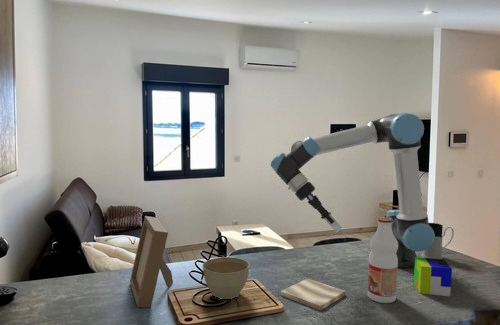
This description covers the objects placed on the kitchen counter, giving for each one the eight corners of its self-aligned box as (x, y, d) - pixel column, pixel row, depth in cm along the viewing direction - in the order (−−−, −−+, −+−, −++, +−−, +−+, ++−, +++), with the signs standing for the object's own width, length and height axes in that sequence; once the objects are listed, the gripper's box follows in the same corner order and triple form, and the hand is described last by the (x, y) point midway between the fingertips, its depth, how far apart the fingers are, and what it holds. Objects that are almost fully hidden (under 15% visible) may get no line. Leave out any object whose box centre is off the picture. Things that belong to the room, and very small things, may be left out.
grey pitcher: (417, 253, 180) (419, 222, 179) (445, 253, 182) (447, 222, 180) (428, 260, 171) (430, 227, 170) (457, 259, 173) (459, 226, 172)
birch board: (307, 282, 145) (307, 278, 145) (345, 295, 134) (345, 290, 134) (280, 295, 133) (280, 291, 133) (320, 310, 122) (320, 306, 122)
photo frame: (137, 309, 121) (136, 232, 119) (129, 283, 141) (128, 217, 139) (183, 301, 127) (183, 228, 125) (170, 278, 147) (169, 214, 145)
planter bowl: (255, 289, 138) (255, 259, 137) (239, 308, 123) (239, 275, 122) (214, 282, 143) (214, 254, 142) (194, 300, 128) (194, 269, 127)
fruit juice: (394, 306, 126) (398, 222, 124) (365, 300, 130) (368, 219, 128) (397, 295, 135) (401, 216, 132) (369, 289, 139) (373, 213, 136)
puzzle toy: (450, 296, 135) (451, 268, 134) (419, 293, 137) (421, 266, 136) (442, 285, 144) (443, 259, 143) (413, 282, 146) (415, 257, 145)
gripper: (297, 195, 161) (331, 235, 156) (290, 190, 137) (331, 237, 132) (311, 184, 161) (346, 223, 155) (306, 177, 137) (347, 223, 131)
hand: (339, 230), depth 143 cm, fingers open, 13 cm apart
